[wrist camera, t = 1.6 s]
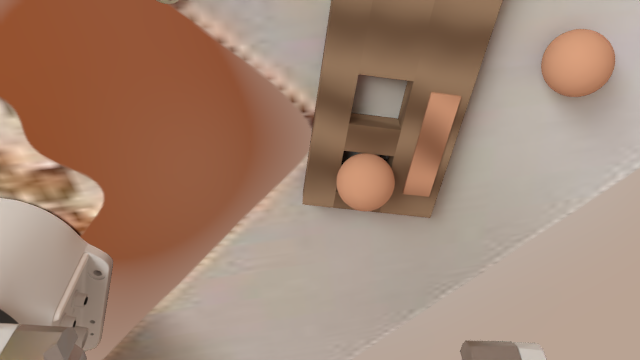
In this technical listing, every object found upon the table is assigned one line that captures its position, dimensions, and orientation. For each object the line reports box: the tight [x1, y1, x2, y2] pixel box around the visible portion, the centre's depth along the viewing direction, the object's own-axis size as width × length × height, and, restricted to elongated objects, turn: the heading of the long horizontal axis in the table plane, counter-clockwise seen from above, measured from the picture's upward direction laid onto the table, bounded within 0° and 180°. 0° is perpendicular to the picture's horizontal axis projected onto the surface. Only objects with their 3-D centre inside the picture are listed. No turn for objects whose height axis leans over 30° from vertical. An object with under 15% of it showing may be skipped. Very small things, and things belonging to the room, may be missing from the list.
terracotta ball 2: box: [541, 29, 615, 97], centre depth 39 cm, size 5×5×5 cm
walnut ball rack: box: [303, 0, 503, 218], centre depth 39 cm, size 33×12×2 cm, turn 172°
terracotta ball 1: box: [336, 153, 395, 211], centre depth 45 cm, size 5×5×5 cm
